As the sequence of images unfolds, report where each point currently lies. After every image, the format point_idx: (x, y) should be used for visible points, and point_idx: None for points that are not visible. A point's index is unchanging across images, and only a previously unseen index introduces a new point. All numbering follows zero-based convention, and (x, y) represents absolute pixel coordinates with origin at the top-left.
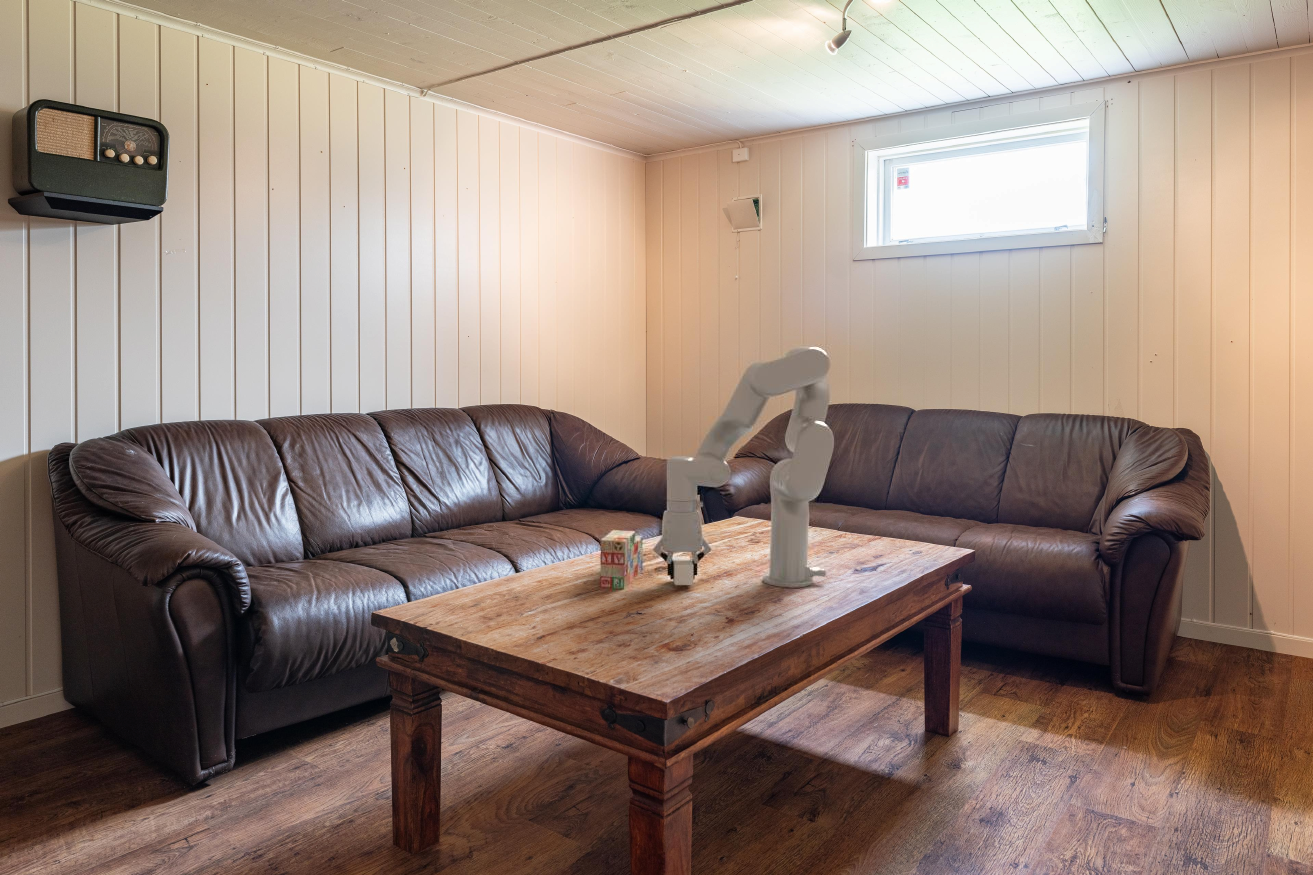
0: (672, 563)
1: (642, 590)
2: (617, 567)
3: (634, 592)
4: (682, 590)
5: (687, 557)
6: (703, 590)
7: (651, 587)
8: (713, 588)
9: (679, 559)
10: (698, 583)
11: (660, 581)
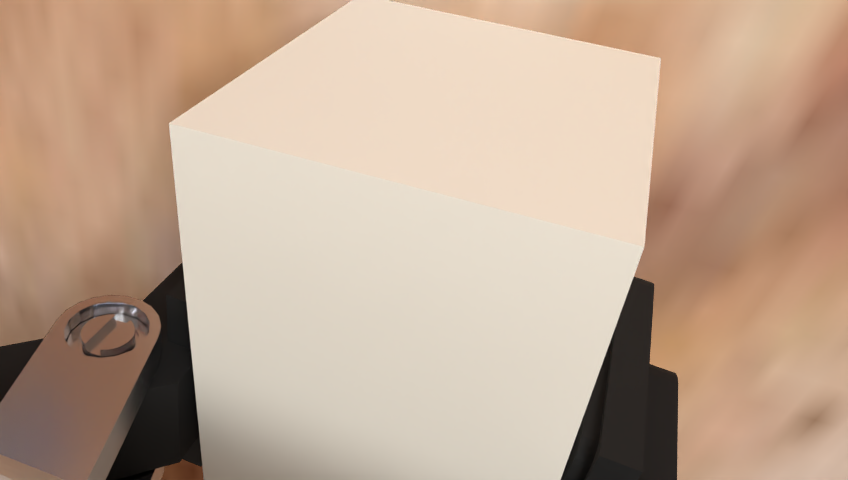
0: None
1: (57, 302)
2: None
3: (4, 333)
4: None
5: (544, 340)
6: None
7: (127, 236)
8: (797, 457)
9: (320, 407)
10: (724, 227)
11: (223, 8)
